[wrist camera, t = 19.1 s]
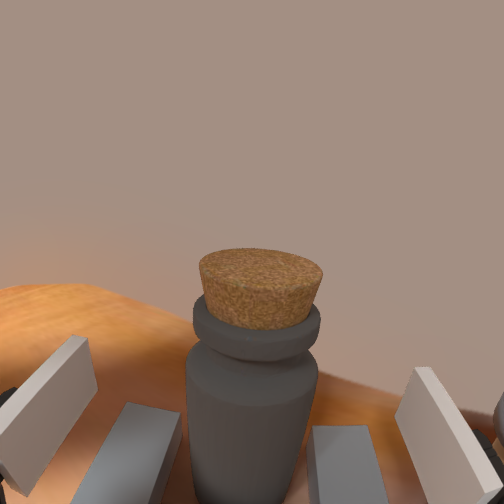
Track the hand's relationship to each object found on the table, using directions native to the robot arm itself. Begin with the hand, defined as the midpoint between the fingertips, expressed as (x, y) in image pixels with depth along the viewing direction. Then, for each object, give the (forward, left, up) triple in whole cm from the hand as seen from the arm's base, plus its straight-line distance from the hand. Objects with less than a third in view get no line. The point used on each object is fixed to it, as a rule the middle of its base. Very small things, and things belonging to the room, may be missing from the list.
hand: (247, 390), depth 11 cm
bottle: (0, +2, -11) cm, 11 cm away
